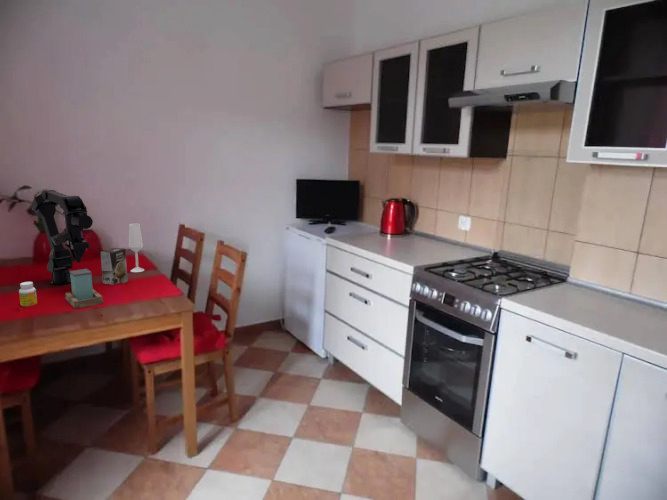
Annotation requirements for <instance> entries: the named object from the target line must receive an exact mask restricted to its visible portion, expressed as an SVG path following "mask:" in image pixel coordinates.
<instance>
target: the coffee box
mask: <svg viewBox="0 0 667 500" xmlns="http://www.w3.org/2000/svg"><path fill="white" fill-rule="evenodd" d="M126 252H127V251H126V248H121V247H112V248H108V249H105V250H103V251H100V263H101V276H102V284H106V285H117V284H120V283H122V284H125V283H128V282H129V281H128V270H127V254H126Z"/></svg>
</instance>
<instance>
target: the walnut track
mask: <svg viewBox="0 0 667 500" xmlns="http://www.w3.org/2000/svg"><path fill="white" fill-rule="evenodd" d="M64 296H65V300H66V301H67V303H68V304H70V306H71V307H72V308H74V309H75V310H76V309H82V308H86V307H87V308H88V307H91V306H92V307H93V306H97V305H101V304H102V305H103V304H104V298H103V295H102V294H100V293H99V292H97V291H96V290H95V289H94V288H93V298H91V299H85V300H80V301H78V300H77V299H76V298H75V297H74V296H73V295H72V292H70V291H69V292H65V295H64Z"/></svg>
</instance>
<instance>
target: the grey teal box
mask: <svg viewBox="0 0 667 500" xmlns="http://www.w3.org/2000/svg"><path fill="white" fill-rule="evenodd" d="M69 272H70V277H71V282H70V285H71V294H72V295H73V296H74V297H75V298H76V299H77V300H78V301H80V300H85V299H91V298H93V289H94V288H93V287H94V286H93V278H92V276H93V275H92V271H91V270H89V269H88V268H83V269H76V270H69Z"/></svg>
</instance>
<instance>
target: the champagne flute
mask: <svg viewBox="0 0 667 500" xmlns="http://www.w3.org/2000/svg"><path fill="white" fill-rule="evenodd" d="M142 237H143V236H142V230H141V225H140V223H137V222H135V223H130V224H129V225H128V247H129V249H130V250H131V251H132V252H134V257H135V258H134V259H135V267H134V268H132V269H130V272H131V273H141V272H144V271H145V269H144V268H143V267H140V266H139V255H138V254H139V252H140V251H141V250H142V248H143V247H144V242H143V238H142Z"/></svg>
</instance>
